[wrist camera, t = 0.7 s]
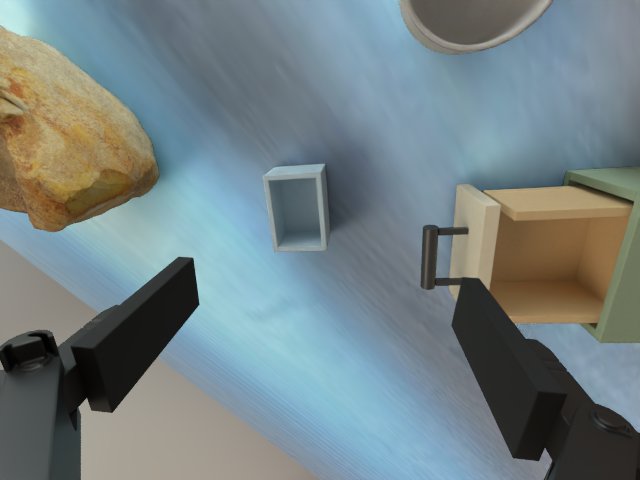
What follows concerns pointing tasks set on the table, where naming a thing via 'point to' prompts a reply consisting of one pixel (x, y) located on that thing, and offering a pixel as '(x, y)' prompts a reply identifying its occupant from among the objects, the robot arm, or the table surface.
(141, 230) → the table surface
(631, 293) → the cabinet
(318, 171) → the open box
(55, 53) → the rough brown rock
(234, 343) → the table surface
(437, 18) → the teacup
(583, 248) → the drawer
